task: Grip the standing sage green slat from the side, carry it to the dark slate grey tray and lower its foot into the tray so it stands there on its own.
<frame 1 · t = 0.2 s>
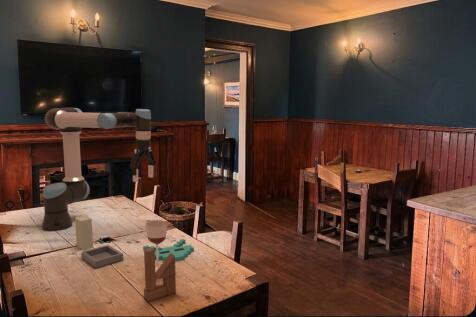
hand: (143, 179, 203), 28 cm above the table, tool pointing down, fingers open, 13 cm apart
grey tray: (102, 259, 168), on the table
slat: (85, 246, 183), on the table
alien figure: (170, 254, 175), on the table
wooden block: (160, 296, 137), on the table
wineglass: (158, 271, 157), on the table
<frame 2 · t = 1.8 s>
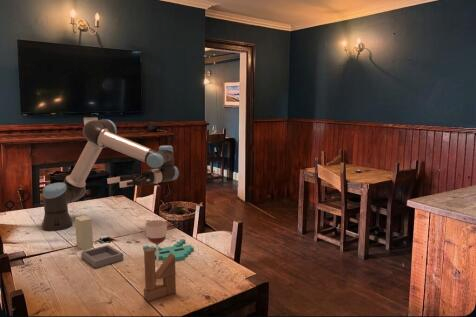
hand: (113, 183, 190), 28 cm above the table, tool horizontal, fingers open, 13 cm apart
nothing on the table moved.
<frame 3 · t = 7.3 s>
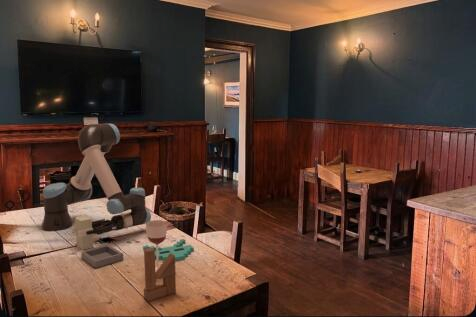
hand: (75, 232, 179), 8 cm above the table, tool horizontal, fingers closed on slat, 7 cm apart
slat: (85, 246, 183), on the table, touching gripper
everything else where it was.
when the fingers open (9 cm above the table, at t = 15.5 s): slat stays where it is, resting on grey tray.
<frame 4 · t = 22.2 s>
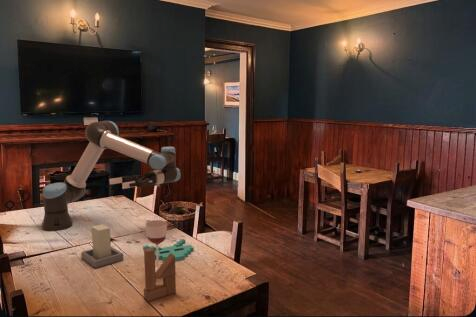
hand: (115, 183, 190), 28 cm above the table, tool horizontal, fingers open, 13 cm apart
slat: (102, 258, 168), resting on grey tray
everything else where it was.
at the end: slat inside the target area on the grey tray (0.1 cm from its centre), point 0.5 cm above the grey tray's base; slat tilted 0°; the gripper is holding nothing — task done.
